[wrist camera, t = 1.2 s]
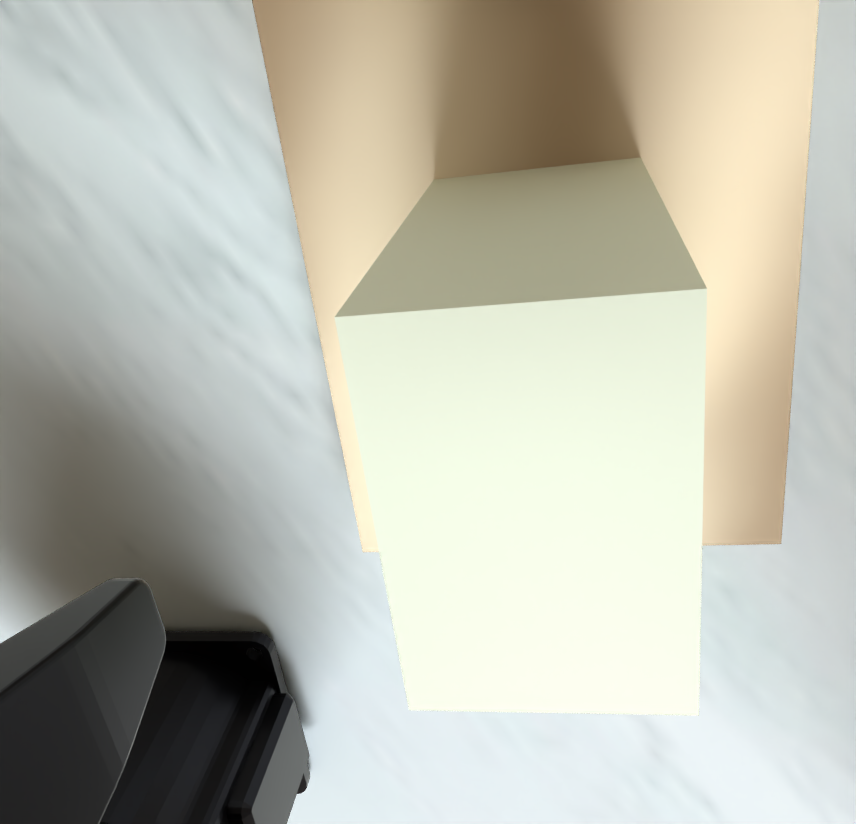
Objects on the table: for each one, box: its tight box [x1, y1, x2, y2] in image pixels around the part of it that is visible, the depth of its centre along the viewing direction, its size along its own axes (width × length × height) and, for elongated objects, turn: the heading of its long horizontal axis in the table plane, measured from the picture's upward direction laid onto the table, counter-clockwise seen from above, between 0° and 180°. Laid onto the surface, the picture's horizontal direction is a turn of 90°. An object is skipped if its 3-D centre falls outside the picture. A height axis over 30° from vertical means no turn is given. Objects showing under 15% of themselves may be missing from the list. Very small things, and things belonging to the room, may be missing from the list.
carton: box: [334, 157, 707, 716], centre depth 14 cm, size 4×6×8 cm
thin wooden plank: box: [252, 0, 819, 552], centre depth 15 cm, size 10×20×3 cm, turn 8°
